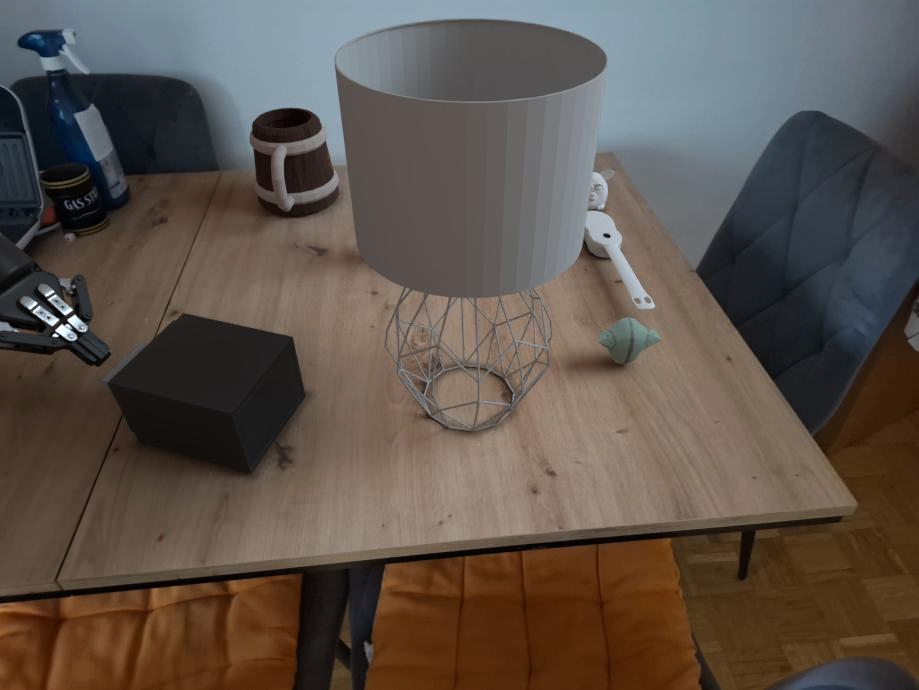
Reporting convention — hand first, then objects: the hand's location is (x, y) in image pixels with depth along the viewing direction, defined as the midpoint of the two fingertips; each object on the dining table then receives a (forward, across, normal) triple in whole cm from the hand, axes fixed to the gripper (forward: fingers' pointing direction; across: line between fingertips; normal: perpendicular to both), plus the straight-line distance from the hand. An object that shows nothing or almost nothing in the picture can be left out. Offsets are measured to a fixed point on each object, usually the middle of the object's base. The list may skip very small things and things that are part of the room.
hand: (104, 360), depth 76 cm
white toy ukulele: (+43, -46, +35) cm, 72 cm away
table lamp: (+33, -12, +26) cm, 44 cm away
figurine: (+38, -66, +30) cm, 82 cm away
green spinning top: (+45, -24, +38) cm, 64 cm away
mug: (+2, -49, -5) cm, 50 cm away
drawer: (+11, 0, +5) cm, 12 cm away
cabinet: (+14, 0, +7) cm, 16 cm away
